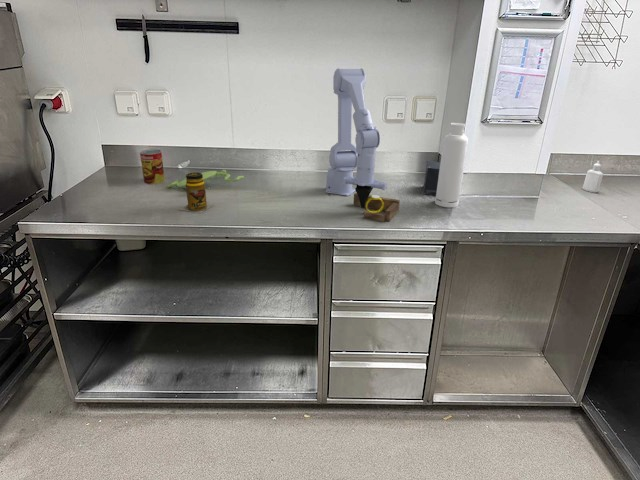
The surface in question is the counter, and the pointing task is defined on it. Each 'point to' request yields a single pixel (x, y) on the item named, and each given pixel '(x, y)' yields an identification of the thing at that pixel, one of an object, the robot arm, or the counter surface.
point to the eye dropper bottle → (593, 179)
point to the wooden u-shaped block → (389, 206)
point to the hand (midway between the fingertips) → (363, 206)
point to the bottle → (452, 166)
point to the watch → (374, 199)
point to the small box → (431, 178)
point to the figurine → (207, 176)
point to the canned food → (152, 166)
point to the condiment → (195, 193)
